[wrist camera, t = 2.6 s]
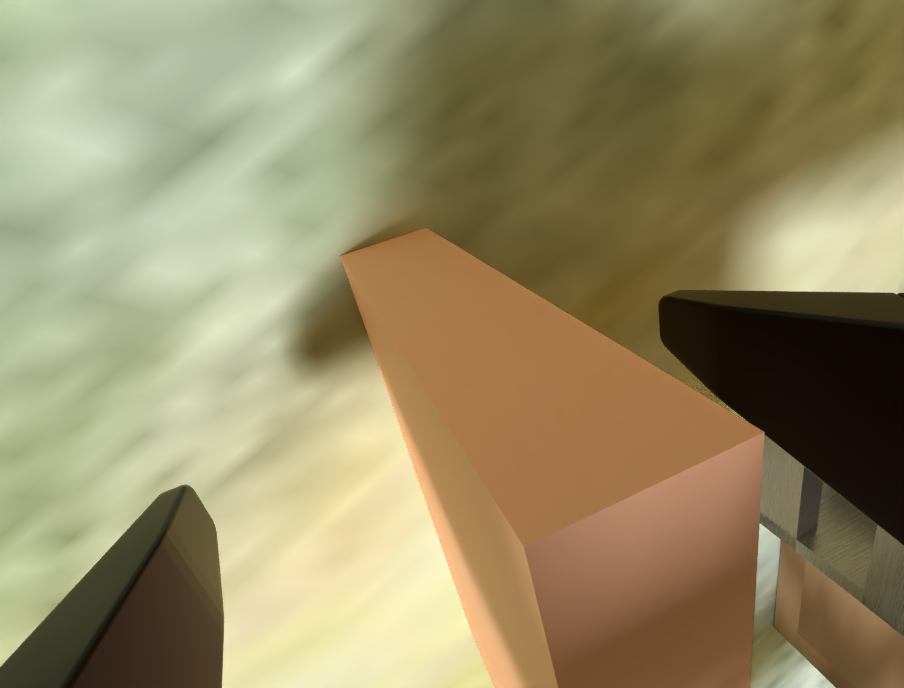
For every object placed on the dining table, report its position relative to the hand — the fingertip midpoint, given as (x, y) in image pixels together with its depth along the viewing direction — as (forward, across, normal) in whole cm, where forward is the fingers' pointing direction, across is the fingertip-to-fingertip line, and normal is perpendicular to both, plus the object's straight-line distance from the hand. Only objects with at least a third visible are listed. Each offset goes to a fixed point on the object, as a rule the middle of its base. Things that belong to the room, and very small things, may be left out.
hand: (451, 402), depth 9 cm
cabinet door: (+2, 0, +4) cm, 4 cm away
